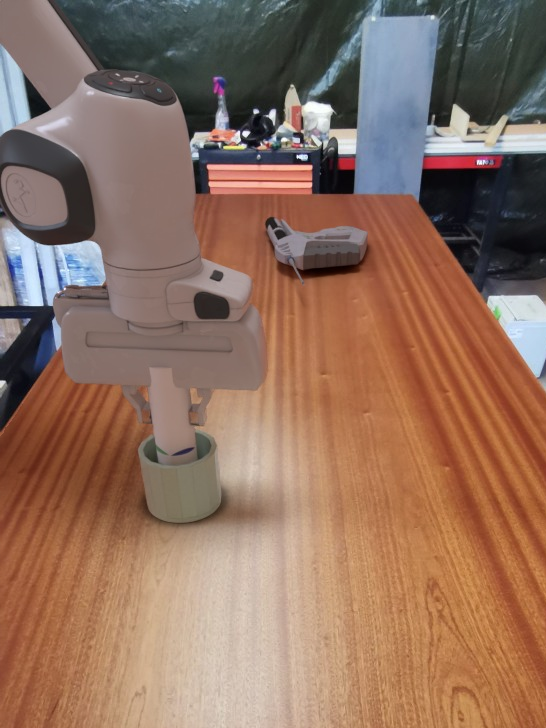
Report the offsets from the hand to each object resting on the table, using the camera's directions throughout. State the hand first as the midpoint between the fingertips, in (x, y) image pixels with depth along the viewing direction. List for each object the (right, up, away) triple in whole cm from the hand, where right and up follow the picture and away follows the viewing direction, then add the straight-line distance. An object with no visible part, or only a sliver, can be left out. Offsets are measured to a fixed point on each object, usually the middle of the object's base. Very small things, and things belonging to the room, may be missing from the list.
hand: (173, 422), depth 77 cm
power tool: (+20, +47, +67) cm, 84 cm away
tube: (0, -6, +6) cm, 8 cm away
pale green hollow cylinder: (0, -7, +7) cm, 10 cm away
